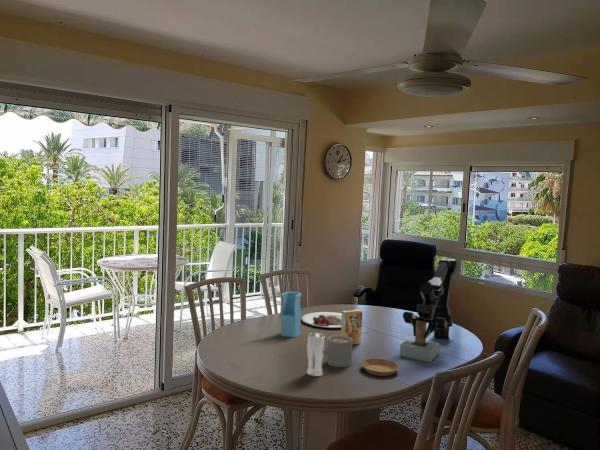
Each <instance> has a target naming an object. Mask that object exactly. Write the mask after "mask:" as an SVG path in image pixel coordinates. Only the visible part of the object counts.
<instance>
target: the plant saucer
mask: <svg viewBox="0 0 600 450" xmlns="http://www.w3.org/2000/svg"><path fill="white" fill-rule="evenodd" d="M360 365H361V366H362V368H363V369H364V370H365V371H366V372H367V373H369V374H371V375H374V376H378V377H386V376H387V377H389V376H392V375H393V374H395V373H396V372H397V371H398V369H399V368H400V366H399V365H398V363H396V362H394V361H392V360H389V359H385V358H367V359H364V360H362V361H361V362H360Z"/></svg>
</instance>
